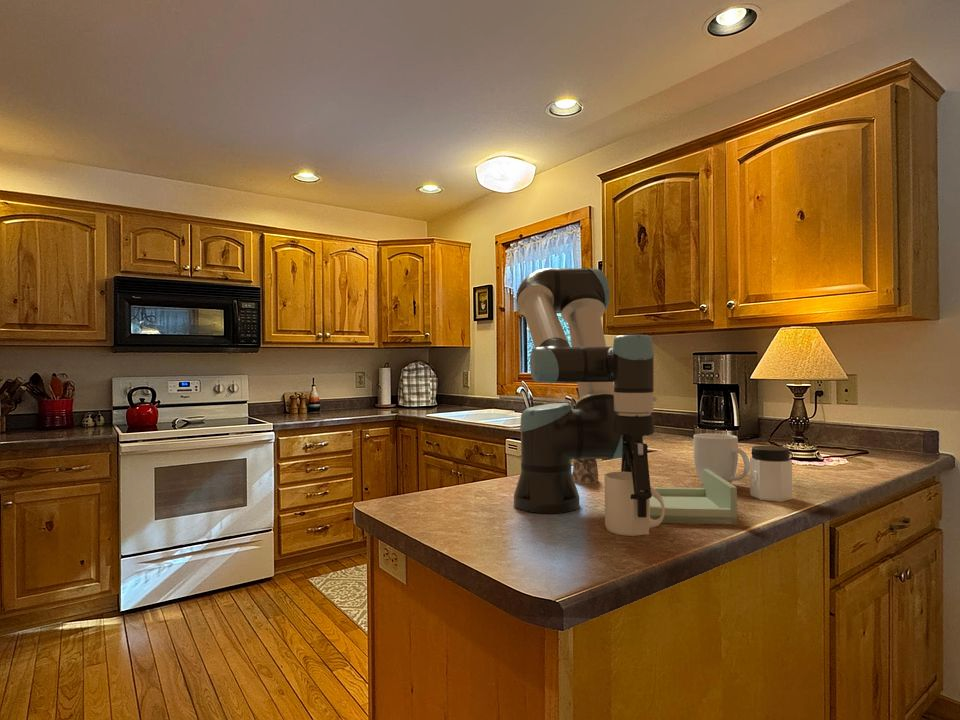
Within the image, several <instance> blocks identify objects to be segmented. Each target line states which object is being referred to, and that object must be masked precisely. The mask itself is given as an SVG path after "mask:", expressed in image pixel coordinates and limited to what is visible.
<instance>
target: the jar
mask: <svg viewBox="0 0 960 720" xmlns="http://www.w3.org/2000/svg"><path fill="white" fill-rule="evenodd" d="M790 451H791V450H790V449H789V448H788V447H784V446H777V445H754V446H752V447H751V457H749V462H750V470H749V480H750V484H749V485H750V489H749V490H750V496H751V497H753V498H755V499H757V500H760V501H766V502H779V503H782V502H787V501H790V500H792V499H793V460H792V459H791V458H790V457H791V456H790V455H791V453H790Z"/></svg>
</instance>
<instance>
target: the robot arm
mask: <svg viewBox="0 0 960 720" xmlns="http://www.w3.org/2000/svg"><path fill="white" fill-rule="evenodd" d="M610 295H611V294H610V285H609V281H608V279H607V276H606V274H605V272H603V271H602V270H601V269H598V268H590V267H583V268H570V267H569V268H568V267H565V268H564V267H563V268H559V267H556V268H553V267H545V268H540V269H538V270H536V271H533V272H532V273H530V274H529V275H527V276H526V277H525V278H524V279H523V280H522V281H521V283H520V285H519V287H518V289H517V292H516V301H515V302H516V305H517V307H518V311H519V312H520V313H521V314H522V315H523V316H524V317H525V321H526V324H527V327H528V331H529V333H530V337H531V339H532V342H533V347H534V348H533V349H531V352H530V356H529V368H530V369H529V370H530V376H531V379H532V380H533V381H534V382H536V383H546V384H554V383H555V384H556V383H557V384H558V383H562V384H563V383H577V388H578V389H577V390H578V395H579V399H578V400H577V402H576V403H575V404H574V408H572V406H571V404H570V402H569V403H567V402H560V403H559V402H558V403H557V402H556V403H548V404H547V403H546V404H540V405H536V406H530V407H528V408H525V409H524V410H523V411H522V412H521V415H520V426H519V427H520V428H519V431H520V474H519V478H518V480H517V484H516V487H515V490H514V494H513V506H514V507H515V508H517V509H518V510H522V511H525V512H530V513H535V514H536V513H537V514H560V513H569V512H572V511H575V510H577V509H579V507H580V495H579V491H578V488H577V486H576V483H575V482H574V479H573V476H572V473H573V471H572V461H573V460H574V459H596V460H608V459H609V460H613V459H621V468H620V472H632V480H633V489H634V494H631V497H630V498H631V499H633V533H634V534H644V535H648V536H649V535H650V529H649V498H651V496H652V494H651V488H650V486H651V481H650V480H651V479H650V468H649V467H650V466H649V458H648V447H649V446H648V444H647V443H644V439H643V438H644V436H651V435H654V433H655V417H654V415H652V413H654V409H655V408H654V406H655V405H654V402H657V397H656V396H654V384H655V383H654V379H655V378H654V365H655V363H654V357H655V352H654V343H653V341H654V340H653V338H652V336H650V335H648V334H623V335H622V334H621V335H616V336H615V337H614V338H613V346H607V344H606V339H605V338H606V337H605V333H604V329H603V323H602V317H603V316H604V314H605V311H606V310H607V309H608V307H609V304H610V299H611V298H610ZM557 312H560V316H561V320H563V321H564V322H565V323H567V324H568V329H569V330H568V331H569V338H570V342H569V339H568V338H567V336H566V334H565V331H564V328H563V326H562V324H561V321H560V319H559V316H558V314H557ZM570 343H571V345H570Z"/></svg>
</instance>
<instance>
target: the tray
mask: <svg viewBox="0 0 960 720" xmlns="http://www.w3.org/2000/svg"><path fill="white" fill-rule="evenodd" d="M651 487H652V488H654V489H655V490H656V491H657V492H658V493H659V494H660V495H661V497H662V499H663V502H664V507H665V512H664V518H663V520H662V522H661V523H660V524H685V525H686V524H689V525H691V524H693V525H694V524H695V525H697V524H698V525H706V524H707V525H738V488H737V486H735V485H734V484H732V483H729V482H727V481H726V480H724V479H723V478H721V477H720V476H718V475H716V474H715V473H713V472H712V471H710V470H709V469H703V483H702V487H653V486H651ZM661 515H662V506H661V504H660V502H659V501H658V500H657V499H656V498H655V497H653V496H651V498H650V518H651V519H653V520H657V519H659V518H660V517H661Z"/></svg>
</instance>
